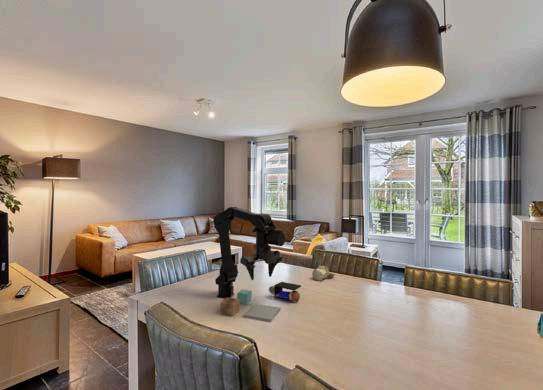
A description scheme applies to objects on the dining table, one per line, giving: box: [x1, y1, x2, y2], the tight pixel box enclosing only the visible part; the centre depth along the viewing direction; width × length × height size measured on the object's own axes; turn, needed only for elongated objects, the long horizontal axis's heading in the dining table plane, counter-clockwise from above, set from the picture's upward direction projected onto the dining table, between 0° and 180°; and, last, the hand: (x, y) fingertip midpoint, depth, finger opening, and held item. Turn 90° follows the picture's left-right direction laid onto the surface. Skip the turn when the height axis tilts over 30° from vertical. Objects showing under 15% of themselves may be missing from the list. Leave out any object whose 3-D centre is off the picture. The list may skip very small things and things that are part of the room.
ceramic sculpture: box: [311, 264, 336, 282], centre depth 167 cm, size 11×9×15 cm
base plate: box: [242, 303, 282, 323], centre depth 119 cm, size 12×12×1 cm
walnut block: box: [219, 297, 241, 317], centre depth 119 cm, size 6×6×5 cm
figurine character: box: [268, 281, 302, 303], centre depth 135 cm, size 7×8×15 cm
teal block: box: [236, 288, 253, 306], centre depth 130 cm, size 5×5×5 cm
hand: (261, 278), depth 125 cm, fingers open, 9 cm apart
